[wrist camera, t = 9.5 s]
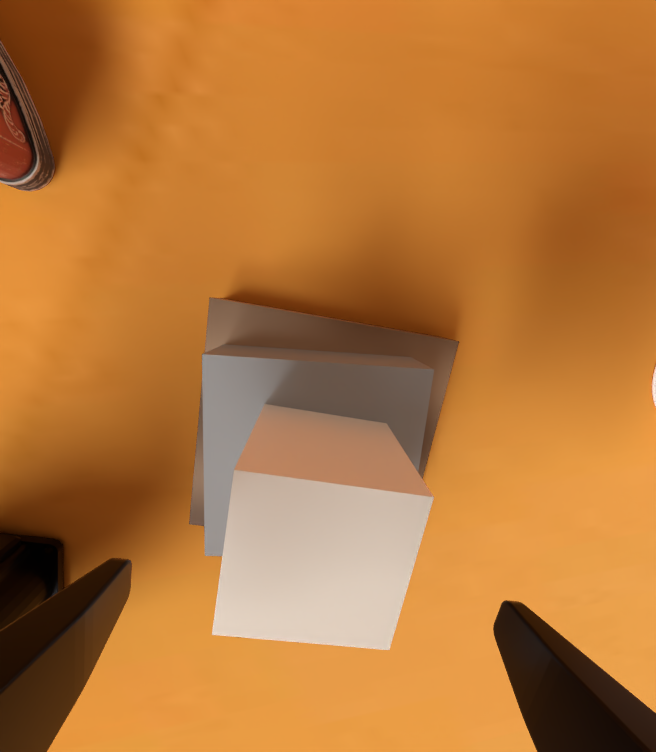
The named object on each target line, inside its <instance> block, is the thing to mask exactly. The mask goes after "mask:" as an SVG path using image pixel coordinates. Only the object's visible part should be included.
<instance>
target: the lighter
mask: <svg viewBox="0 0 656 752" xmlns="http://www.w3.org/2000/svg"><path fill="white" fill-rule="evenodd" d="M54 170H55V164H54V158H53V155H52V152H51V149H50V146H49V142H48V139H47V136H46V133H45V130H44V127H43V124H42V121H41V119H40V117H39V114H38V112H37V110H36V107H35V105H34V103H33V101H32V98H31V96H30V94H29V92H28V89H27V87H26V85H25V83H24V80H23V78H22V77H21V75H20V73H19V72H18V70H17V68H16V66H15V65H14V63H13V61H12V59H11V58H10V56H9V54H8V52H7V51H6V49H5V47H4V46H3V44H2V42H1V40H0V182H1V183H4V184H6V185H9V186H11V187H14V188H16V189H19V190H24V191H34V190H39V189H41V188H43V187H44V186H46V185H47V184H48V183H49V182H50V180H51V179H52V177H53V174H54Z"/></svg>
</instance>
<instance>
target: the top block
mask: <svg viewBox="0 0 656 752" xmlns="http://www.w3.org/2000/svg"><path fill="white" fill-rule="evenodd" d="M433 374H434V369H432V368H430V367H429V366H427V365H425V364H423V363H421V362H419V361H417V360H415V359H413V358H411V357H403V356H388V355H374V354H359V353H344V352H330V351H315V350H300V349H286V348H271V347H257V346H242V345H227V344H224V345H221V346H219V347H217V348H215V349H212V350H210V351H208V352H206V353H204V354H202V389H203V460H204V530H205V556H223V548H224V541H225V533H226V526H227V518H228V511H229V503H230V496H231V488H232V481H233V473H234V469H235V466H236V464H237V462H238V460H239V458H240V456H241V454H242V451H243V449H244V447H245V445H246V443H247V441H248V439H249V436H250V434H251V432H252V430H253V428H254V426H255V423H256V421H257V419H258V417H259V415H260V413H261V411H262V408H263V406H264V404H268V405H274V406H281V407H287V408H293V409H300V410H306V411H312V412H318V413H325V414H331V415H337V416H343V417H350V418H356V419H362V420H368V421H375V422H381V423H387V425H388V426H389V428H390V429H391V431H392V433H393V434H394V436H395V437H396V439H397V440H398V442H399V444H400V445H401V447H402V448H403V450H404V451H405V453H406V454H407V456H408V458H409V459H410V461H411V462H412V464H413V465H414V467H415V469H416V470H417V472H418V470H419V464H420V458H421V451H422V445H423V438H424V432H425V426H426V419H427V413H428V406H429V400H430V393H431V387H432V381H433Z"/></svg>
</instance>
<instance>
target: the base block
mask: <svg viewBox="0 0 656 752" xmlns="http://www.w3.org/2000/svg"><path fill="white" fill-rule="evenodd" d="M458 343H459V341H455V340H451V339H447V338H443V337H438V336H432V335H426V334H421V333H415V332H410V331H404V330H398V329H393V328H387V327H381V326H376V325H370V324H364V323H359V322H353V321H347V320H342V319H336V318H330V317H325V316H319V315H313V314H308V313H302V312H297V311H291V310H285V309H280V308H274V307H268V306H263V305H257V304H251V303H246V302H240V301H234V300H229V299H223V298H210V299H209V310H208V321H207V332H206V343H205V353H206V352H208V351H210V350H212V349H215V348H217V347H219V346H221V345H224V344H227V345H242V346H257V347H271V348H286V349H300V350H315V351H330V352H344V353H359V354H374V355H388V356H403V357H411V358H413V359H415V360H417V361H419V362H421V363H423V364H425V365H427V366H429V367H430V368H432V369H434V374H433V381H432V387H431V393H430V400H429V406H428V413H427V419H426V426H425V432H424V438H423V445H422V451H421V458H420V464H419V470H418V473H419V475H420V476H421V478H422V479H423V475H424V471H425V467H426V463H427V460H428V456H429V452H430V448H431V445H432V441H433V437H434V433H435V430H436V426H437V422H438V418H439V415H440V411H441V407H442V403H443V400H444V396H445V392H446V388H447V385H448V381H449V377H450V373H451V370H452V366H453V362H454V358H455V355H456V351H457V347H458ZM189 524H192V525H201V526H204V460H203V389H202V388H201V399H200V410H199V421H198V432H197V443H196V454H195V465H194V476H193V487H192V498H191V510H190V521H189Z"/></svg>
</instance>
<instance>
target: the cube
mask: <svg viewBox="0 0 656 752" xmlns="http://www.w3.org/2000/svg"><path fill="white" fill-rule="evenodd" d="M433 499H434V497H433V495H432V494H431V492H430V490H429V489H428V487H427V486H426V484H425V483H424V481H423V479H422V478H421V476H420V475H419V473H418V472H417V470H416V469H415V467H414V465H413V464H412V462H411V461H410V459H409V458H408V456H407V454H406V453H405V451H404V450H403V448H402V447H401V445H400V444H399V442H398V440H397V439H396V437H395V436H394V434H393V433H392V431H391V429H390V428H389V426H388V425H387V423H381V422H375V421H368V420H362V419H356V418H350V417H343V416H337V415H331V414H325V413H318V412H312V411H306V410H300V409H293V408H287V407H281V406H274V405H268V404H264V406H263V408H262V411H261V413H260V415H259V417H258V419H257V421H256V423H255V426H254V428H253V430H252V432H251V434H250V436H249V439H248V441H247V443H246V445H245V447H244V449H243V451H242V454H241V456H240V458H239V460H238V462H237V464H236V466H235V469H234V473H233V481H232V488H231V496H230V503H229V511H228V518H227V526H226V533H225V541H224V548H223V556H222V563H221V571H220V578H219V586H218V593H217V601H216V608H215V616H214V624H213V631H212V635H221V636H233V637H244V638H256V639H267V640H279V641H290V642H302V643H313V644H325V645H336V646H348V647H359V648H371V649H382V650H389V649H390V646H391V642H392V639H393V635H394V632H395V629H396V625H397V622H398V618H399V615H400V612H401V608H402V605H403V601H404V598H405V594H406V591H407V588H408V584H409V581H410V577H411V574H412V570H413V567H414V564H415V560H416V557H417V553H418V550H419V546H420V543H421V540H422V536H423V533H424V529H425V526H426V523H427V519H428V516H429V512H430V509H431V505H432V502H433Z"/></svg>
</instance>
